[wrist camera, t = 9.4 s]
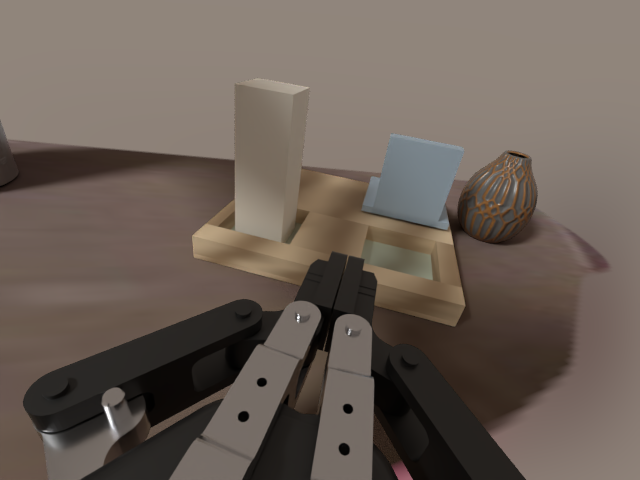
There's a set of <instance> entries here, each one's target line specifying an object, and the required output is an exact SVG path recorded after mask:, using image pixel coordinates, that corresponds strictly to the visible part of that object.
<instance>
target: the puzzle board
mask: <svg viewBox="0 0 640 480" xmlns="http://www.w3.org/2000/svg"><path fill="white" fill-rule="evenodd" d="M368 186H369V183H365V182H361V181H356V180H352V179H347V178H342V177H338V176H333V175H329V174H324V173H319V172H315V171H310V170H306V169H301V176H300V185H299V194H298V203H297V213H296V222H295V229H294V230H293V232H292V233H291V235H290V236H289V238H288V239H287V241H286V243H281V242H277V241H273V240H269V239H265V238H261V237H257V236H253V235H249V234H245V233H241V232H237V231H235V199H234V200H233V201H231V202H230V203H229V204H228V205H227V206H226V207H225V208H223V209H222V210H221V211H220V212H219V213H218V214H217V215H215V216H214V217H213V218H212V219H211V220H210V221H209V222H207V223H206V224H205V225H204V226H203V227H202V228H201V229H199V230H198V231H197V232H196V233H195V234H194V235H193V236H192V240H193V252H194V258H198V259H201V260H205V261H209V262H213V263H217V264H220V265H224V266H228V267H232V268H235V269H239V270H243V271H247V272H250V273H254V274H258V275H262V276H265V277H269V278H273V279H277V280H281V281H284V282H288V283H292V284H296V285H299V286H301V285H302V282H303V280H304V278H305V276H306V274H307V271H308V269H309V267H310V265H311V264H312V263H313V262H315V261H316V260H317V259H321V260H325V261H328V260H329V258H330V255H331V253H332V251H334V252H338V253H342V254H346V255H348V257H349V255H351V256H355V257H359V258H363V259H365V261H364V266H363V270H364V271H368V272H372V273H374V274H375V277H376V279H377V281H378V282H377V289H376V296H375V303H374V305H375V306H378V307H382V308H386V309H390V310H393V311H397V312H401V313H405V314H408V315H412V316H416V317H420V318H424V319H427V320H431V321H435V322H439V323H442V324H446V325H450V326H454V327H455V326H456V324H457V322H458V320H459V318H460V316H461V314H462V312H463V310H464V308H465V301H464V296H463V291H462V286H461V281H460V276H459V270H458V265H457V260H456V255H455V250H454V245H453V240H452V235H451V230H450V225H449V226H448V229H447V230H444V229H440V228H436V227H431V226H427V225H422V224H418V223H414V222H409V221H405V220H401V219H396V218H392V217H387V216H383V215H379V214H374V213H370V212H366V211H361V210H362V205H363V202H364V199H365V196H366V193H367V189H368ZM445 206H446V204H445ZM446 211H447V209H446ZM447 216H448V214H447ZM448 221H449V219H448ZM348 257H347V261H348ZM346 264H347V262H346ZM345 268H346V266H345ZM344 271H345V270H344Z"/></svg>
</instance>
